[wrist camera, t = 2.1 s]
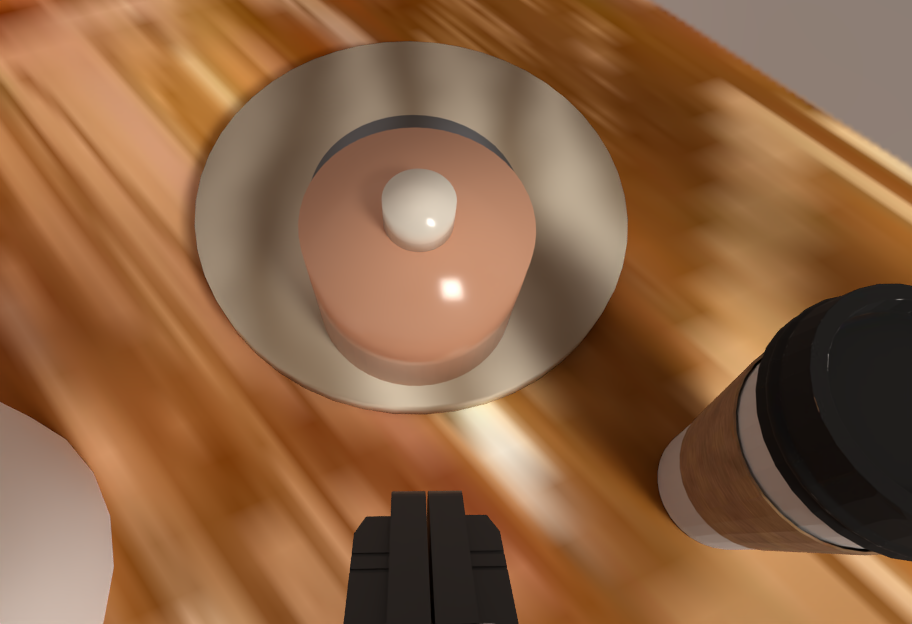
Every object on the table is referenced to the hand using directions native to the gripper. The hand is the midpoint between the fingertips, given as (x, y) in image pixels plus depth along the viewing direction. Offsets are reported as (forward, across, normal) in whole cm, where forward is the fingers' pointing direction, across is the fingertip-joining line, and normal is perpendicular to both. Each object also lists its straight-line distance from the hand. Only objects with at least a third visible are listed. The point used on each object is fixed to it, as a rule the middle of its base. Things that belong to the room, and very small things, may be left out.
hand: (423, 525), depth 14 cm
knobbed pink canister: (+20, 0, +2) cm, 20 cm away
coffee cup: (+15, -15, +10) cm, 23 cm away
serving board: (+26, 0, -2) cm, 26 cm away
